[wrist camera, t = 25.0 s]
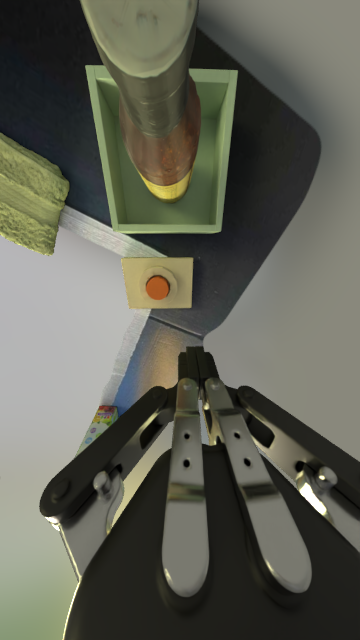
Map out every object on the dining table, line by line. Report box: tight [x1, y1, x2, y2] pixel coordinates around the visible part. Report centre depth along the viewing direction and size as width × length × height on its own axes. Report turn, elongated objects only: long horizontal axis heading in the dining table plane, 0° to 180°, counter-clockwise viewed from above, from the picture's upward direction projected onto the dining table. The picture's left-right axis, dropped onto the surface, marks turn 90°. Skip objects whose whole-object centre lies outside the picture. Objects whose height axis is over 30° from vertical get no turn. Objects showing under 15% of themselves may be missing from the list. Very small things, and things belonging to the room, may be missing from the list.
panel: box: [121, 257, 193, 309], centre depth 28 cm, size 12×9×4 cm
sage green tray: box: [86, 65, 238, 234], centre depth 20 cm, size 15×14×6 cm
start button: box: [146, 276, 169, 300], centre depth 26 cm, size 4×4×2 cm
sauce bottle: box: [80, 0, 201, 204], centre depth 13 cm, size 6×6×20 cm
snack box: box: [75, 406, 118, 457], centre depth 43 cm, size 21×6×15 cm, turn 176°
